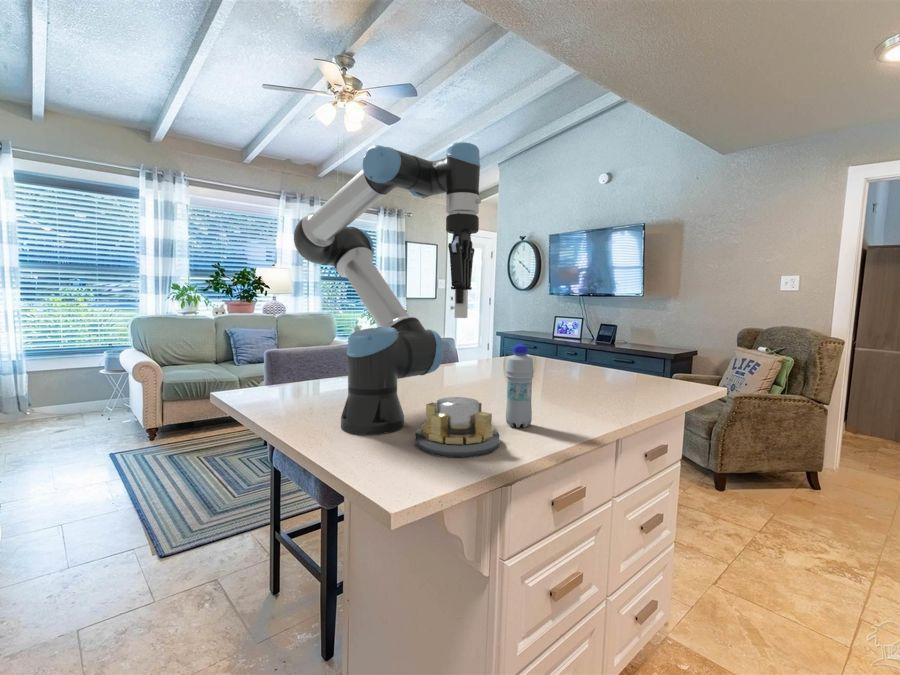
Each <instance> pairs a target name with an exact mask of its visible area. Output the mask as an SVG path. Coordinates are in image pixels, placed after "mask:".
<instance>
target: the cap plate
mask: <svg viewBox="0 0 900 675" xmlns="http://www.w3.org/2000/svg"><path fill="white" fill-rule="evenodd" d="M436 403H437V413H442V414H447V415H448V430H447V434H455V435H465V434H473V433H475V423H476V414H477V413H479V403H480V401H479V400H477V399H475V398H471V397H470V398H469V397H465V396H464V397H463V396H461V397H460V396H449V397H444V398H443V397H442V398H439V399H438V400H436ZM414 435H415V437H414V439H415V441H414V442H415V446H416V448H417V449H418V450H419V451H422V452H424V453H426V454H429V455H432V456H437V457H440V458H441V457H443V458H454V459H456V458H457V459H466V458H467V459H468V458H476V457H482V456H486V455H489V454H491V453H493V452H495V451H497V450H498V449H499V448H500V434H499V431H498V430H496V429H494V431H493V437H492V438H490V439H488V440H486V441H484V442H483V441H482V442H480V443H472V444H465V443H463V444H445V442H444V443H439V442H435V441H431V440H429V439H426V438H425V437H424V436H422V435H421V427H420V428H419V429H417V430H416V431H415V433H414Z"/></svg>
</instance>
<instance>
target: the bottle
mask: <svg viewBox="0 0 900 675" xmlns="http://www.w3.org/2000/svg"><path fill="white" fill-rule="evenodd" d="M512 352H513V353H512V355H511V356H509V357H508V358H507V362H506V369H505V372H506V374H505V375H506V379H507V383H506V384H507V385H506V386H507V387H506V390H507V391H506V407H505V421H506V423H507V425H509V426H510V427H512V428H513V427H514V426H516V428H517V429H519V428H520V427H521V425H522V428H524V429H525V428H527V427H529V426H530V425H531V423H532V421H533V420H532V417H533V415H532V414H533V411H532V393H533V390H532V388H533V386H532V385H533V378H534V372H535V370H534V362H533V360H534V359H533V357H530V356H529V355H528V347H527V345H524V344H515V345H514V346H513V349H512Z"/></svg>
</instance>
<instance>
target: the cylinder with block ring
mask: <svg viewBox="0 0 900 675" xmlns="http://www.w3.org/2000/svg"><path fill="white" fill-rule="evenodd" d="M482 405H483V404H482V402H479V413H477V414H476V423H475V433H473V434H465V435H455V434H447V430H448V415H447V414H442V413H437V402H430V403H426V404H425V422H424V423H422V425H421V426H420V428H421V435H422V436H424V437H425V438H426V439H429V440H431V441H435V442H439V443H444V442H445V444H463V443H465V444H472V443H480V442H482V441H483V442H484V441H486V440H488V439H490V438H492V437H493V431H494V430H495V429H494V428H495V427H494V425H493V424H492V422H493V420H492V417H493V414H492V412H486V411H482Z"/></svg>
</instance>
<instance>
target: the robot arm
mask: <svg viewBox="0 0 900 675" xmlns="http://www.w3.org/2000/svg"><path fill="white" fill-rule="evenodd" d="M445 156H446V157H445V158H441V159H438V160H428V159H425V158H421V157H419V156H416V155H413V154H409V153H407V152H403V151H400V150H397V149H396V148H393V147H390V146H384V145H379V144H377V145H372V146H371V147H369V148H368V149H367V151H366V154H365V155H364V156H363V158H362V170H360V171H359V172H358V173H357V174H356V175H355V176H353V178H351V179H350V180H349V181H348V182H347V183H346V184H345V185H344V186H343V187H341V188H340V189H339V190H338V191H337V192H336V193H335V194H334V195H333V196H332V197H330V198H329V199H328V200H326V202H325V203H324V204H323V205H321V207H319V208H318V209H317V210H316V211H315V212H309V213H307V214H305V216H303V217H301V219H300V220H299V221H298V223H297V224H296V226H295V228H294V231H293V243H294V248H295V249H296V250H297V251H296V252H298V254H300V256H301V257H303V258H302V259H304V260H306V261H308V262H309V263H312V264H316V265H330V266H332V267H334V269H335V271H336V272H337V273H338V275H339V276H340V277H341V278H346V279H347V280H348V281H349V283H350V284H351V286H352V288H353V289H354V290H355V293H356V294H357V296H358V297H359V299H360V301H361V302H362V303H363V305H364V307H365V308H366V310H367V311H368V313H369V315H370V317H372V319H373V321H374V323H375V324H376V326H377V327H371V328H364V329H359V330H356V331H354V332H352V333H351V334H349V337H348V339H347V349H346V355H347V398H346V400H345V404H344V406H343V410H342V413H341V416H340V428H341V430H343V431H345V432H348V433H350V434H357V435H381V434H388V433H394V432H397V431H399V430H401V429H403V428H404V426H405V414H404V411H403V408H402V405H401V401H400V398H399V395H398V379H399V380H400V379H406V378H411V377H417V376H422V377H423V376H426V375H427V374H431V373H433V372H435V371H437V370H438V369H439V367H440V366H441V364H442V362H443V359H444V352H445V346H444V342H443V339H442V337H441V335H440V334H439V333H438V332H437V331H435V330H432V329H429V328H428V329H426V328H425V326H423V324H422V323H421V321H420V320H419V319H418V318H417V317H416V316H410V315H409V313H408V312H407V311H406V309H405V308H404V306H403V305H402V303H401V302H400V300H399V299H398V298H397V296H396V295H395V294H394V292H393V291H392V288H390V286H389V285H388V283H387V282H386V280H385V278H384V277H383V275H382V274H381V272H380V271H379V270H378V268H377V267H376V265H375V264H374V262H373V261H374V254H375V249H374V247H373V246H374V242H373V239H372V237H371V236H370V235H369V233H368V232H367V231H366V230H364V229H362V228H358V227H356V226H350V224H352V223H353V222H354V221H355V220H357V219H358V218H359V217H360V216H362V215H363V214H364V213H365V212H367V211H368V210H369V209H370V208H371V207H373V206H374V205H375V204H377V203H378V202H379V201H380V200H381V199H383V198H385V196H386V195H388V194H389V193H390V192H392V191H393V190H394V189H395V188H400V189H403V190H407V191H408V192H410V193H411V194H412V195H413V196H415V197H417V198H418V197H419V198H422V197H423V198H424V197H425V198H428V197H431V196H435V195H440V194H441V195H442V194H445V193H446V195H445V196H446V198H445V213H446V214H447V216H445V227H446V228H445V231H446V233H449V234H452V240H451V242H449V243H447V244H448V245H447V246H448V252H449V264H450V265H449V266H450V278H451V286H450V289H451V290H453V291H454V318H455V319H467V318H468V305H469V304H468V303H469V300H468V298H469V297H468V296H469V290H470V291H471V290H472V289H473V288H472V286H471V285H472V273H473V265H474V263H473V262H474V255H475V248H474V247H473V241H472V237H471V236H472V234H477V233H478V232H479V229H480V228H479V226H480V218H479V216H478V214H479V210H480V208H479V205H480V204H481V203H482V200H481V199H480V173H481V172H480V171H481V161H480V160H481V159H480V150H479V147H478V146H477V145H475V144H474V143H471V142H464V141H461V142H454V143H451V144H450V145H449V146H448V147H447V149H446V154H445Z"/></svg>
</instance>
